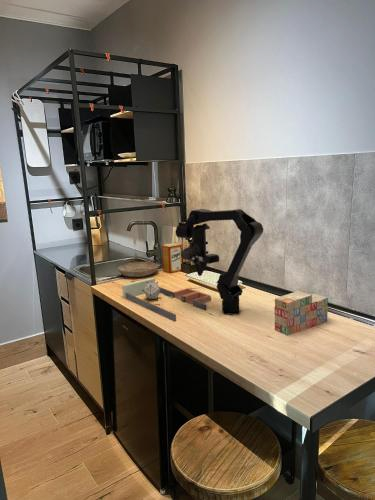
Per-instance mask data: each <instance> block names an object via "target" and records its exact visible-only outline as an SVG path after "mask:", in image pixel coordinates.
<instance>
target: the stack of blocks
mask: <svg viewBox="0 0 375 500" xmlns="http://www.w3.org/2000/svg"><path fill="white" fill-rule="evenodd" d="M328 298H329V297H327V296H324V295H320V294H317V293H312V294H310V293H307V292H304V291H300V290H297V291H294V292H291V293H288V294H284V295H280V296H278V297H275V298H274V330H275V331H276V332H278V333H281V334H284V335H285V336H291V335H293V334H297V333H299V332H301V331H304V330H307V329H309V328H311V327H315V326H317V325H319V324H322V323H325V322H328V314H329V313H328V311H329V309H328V307H329V305H328V303H329V299H328Z"/></svg>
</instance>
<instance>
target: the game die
mask: <svg viewBox="0 0 375 500" xmlns="http://www.w3.org/2000/svg"><path fill="white" fill-rule="evenodd" d="M158 283H159V281H157V282H155V283H148V282H147V285H146V287H145V289H144V290H142V291H144V295H145V297H146V300H145V301H148V299H149V300H151V299H152V300H153V299H156V300H157V301H158V297H159V296H160V294H161V293H160V291H161V292H162V290H160V288H159V287H160V286H159V284H158Z"/></svg>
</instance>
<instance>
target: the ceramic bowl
mask: <svg viewBox="0 0 375 500" xmlns="http://www.w3.org/2000/svg"><path fill="white" fill-rule="evenodd" d="M159 268H160V266H159V264H158V263H156V262H152V261H151V262H150V261H136V262H135V261H134V262H128V263H124V264H121V265H120V266H118V267H117V271H118V272H119V273H120V274H121V275H123V276H125V277H129V278H142V277H146V276H150V275H152V274H153V273H155V272H157V270H158V269H159Z"/></svg>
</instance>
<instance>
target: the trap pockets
mask: <svg viewBox="0 0 375 500" xmlns="http://www.w3.org/2000/svg"><path fill="white" fill-rule="evenodd" d="M173 292H174V293H175V298H174V299H177V300H180V301H181V296H185V299H186V302H185V303H187V304H190V305H192V306H193V300H196V301H199V302H201V303H204V304H206V303H207V302H211V300H212V299H211V295H210V294H207V293H205V292H201V291H199V290H195V289H193V288H189V287H187V288H183V289H180V290H176V291H173Z"/></svg>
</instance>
